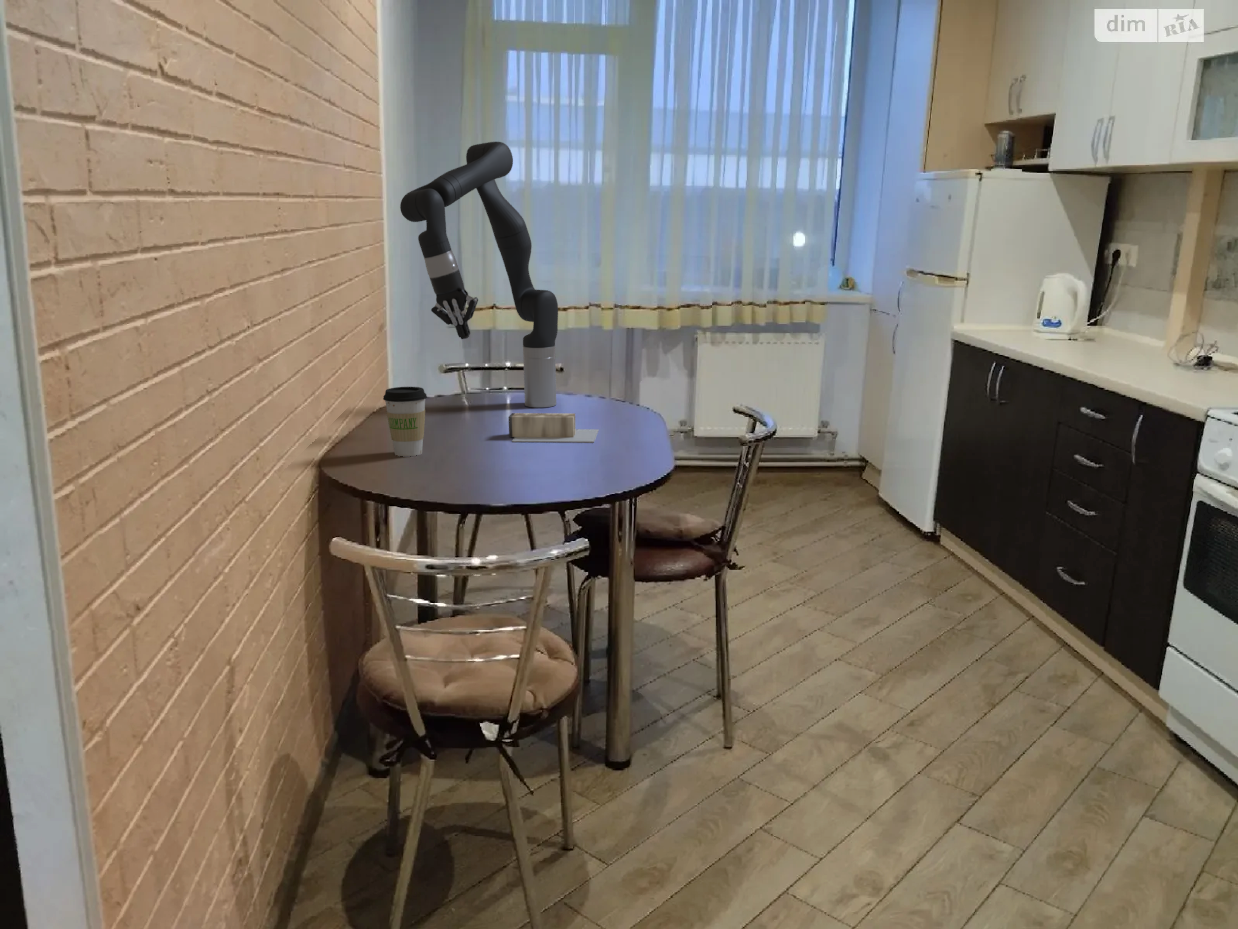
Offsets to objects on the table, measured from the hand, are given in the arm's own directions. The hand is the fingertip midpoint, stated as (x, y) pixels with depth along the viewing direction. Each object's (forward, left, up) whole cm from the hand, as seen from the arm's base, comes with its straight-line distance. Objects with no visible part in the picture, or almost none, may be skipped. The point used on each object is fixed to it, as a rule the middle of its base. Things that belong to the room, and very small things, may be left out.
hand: (465, 337), depth 246 cm
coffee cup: (+28, -8, -24) cm, 38 cm away
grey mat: (+8, +24, -24) cm, 34 cm away
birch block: (+8, +12, -21) cm, 25 cm away
